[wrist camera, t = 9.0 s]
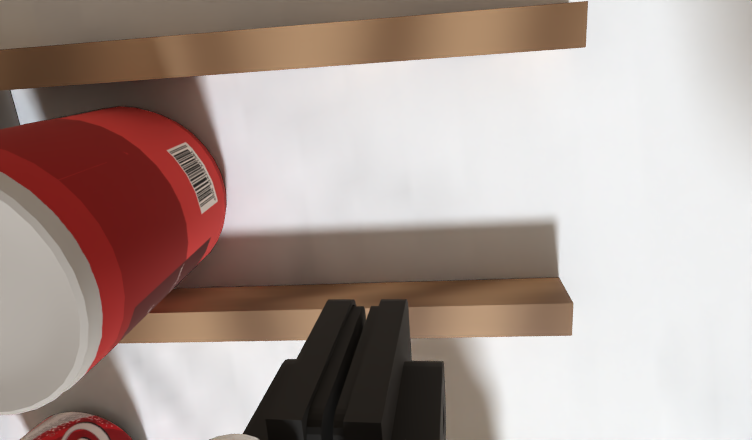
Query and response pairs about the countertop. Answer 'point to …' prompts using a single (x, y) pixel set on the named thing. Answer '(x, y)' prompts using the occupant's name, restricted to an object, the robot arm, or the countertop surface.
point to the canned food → (93, 239)
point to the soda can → (76, 428)
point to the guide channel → (305, 50)
